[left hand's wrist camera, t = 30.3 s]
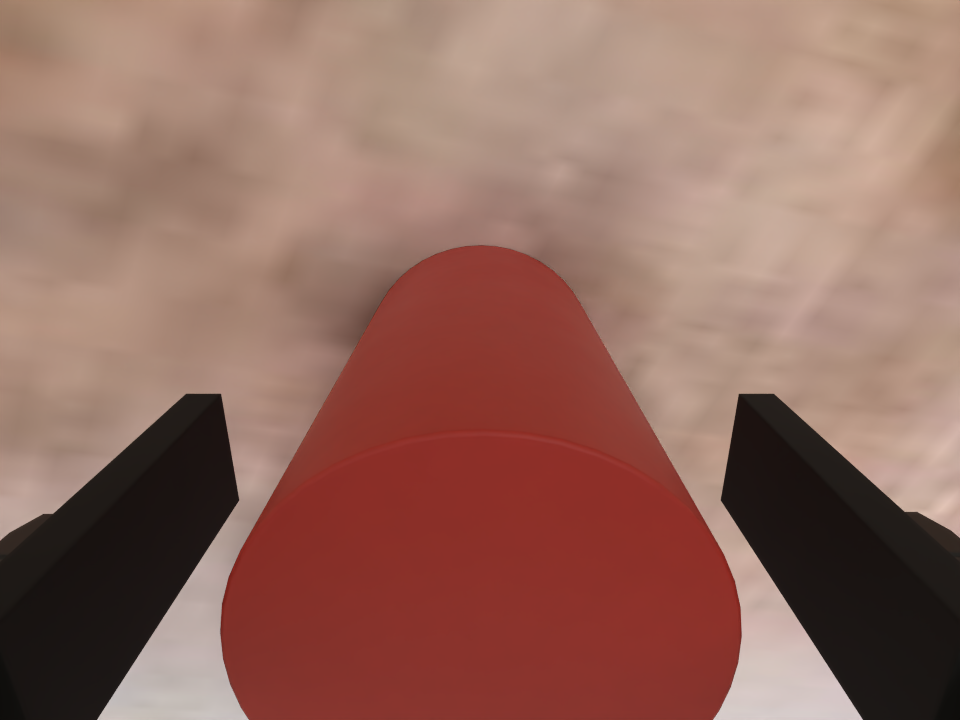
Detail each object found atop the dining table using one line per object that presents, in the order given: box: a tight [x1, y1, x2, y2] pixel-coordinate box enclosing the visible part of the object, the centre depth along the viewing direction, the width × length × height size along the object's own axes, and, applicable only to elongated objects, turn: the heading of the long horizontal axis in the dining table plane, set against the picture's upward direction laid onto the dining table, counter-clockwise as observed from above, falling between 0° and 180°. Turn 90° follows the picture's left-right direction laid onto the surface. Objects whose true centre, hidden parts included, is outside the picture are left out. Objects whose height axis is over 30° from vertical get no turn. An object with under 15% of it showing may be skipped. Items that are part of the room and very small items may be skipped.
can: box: [220, 246, 742, 720], centre depth 14 cm, size 7×7×12 cm
